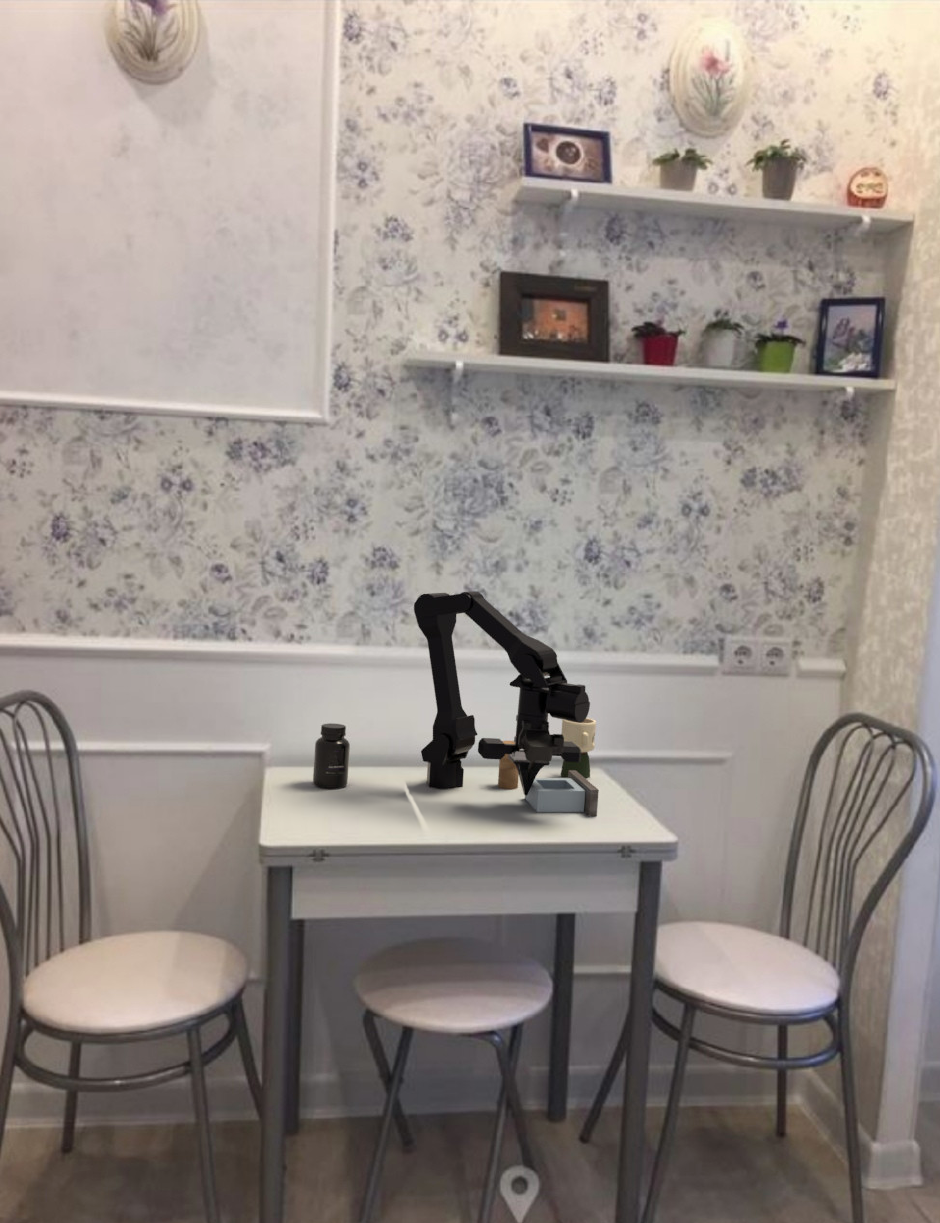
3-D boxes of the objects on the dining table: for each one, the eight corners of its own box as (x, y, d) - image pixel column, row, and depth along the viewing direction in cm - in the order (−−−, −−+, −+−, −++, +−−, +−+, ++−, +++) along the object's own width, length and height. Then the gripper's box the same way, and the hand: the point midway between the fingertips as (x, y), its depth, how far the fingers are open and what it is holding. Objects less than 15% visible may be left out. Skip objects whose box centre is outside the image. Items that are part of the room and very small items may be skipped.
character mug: (599, 786, 214) (604, 725, 213) (567, 787, 213) (571, 725, 211) (582, 773, 225) (586, 714, 224) (551, 773, 223) (555, 714, 222)
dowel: (500, 794, 204) (503, 745, 203) (495, 789, 208) (498, 740, 207) (519, 794, 205) (522, 745, 204) (514, 789, 209) (517, 740, 208)
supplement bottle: (333, 791, 200) (336, 730, 198) (305, 785, 203) (308, 725, 202) (354, 784, 206) (357, 725, 204) (327, 778, 209) (329, 720, 208)
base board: (501, 822, 186) (503, 789, 185) (484, 800, 199) (486, 769, 199) (596, 821, 189) (598, 789, 189) (573, 800, 203) (575, 770, 203)
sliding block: (537, 812, 190) (538, 790, 189) (524, 798, 198) (526, 778, 198) (583, 811, 191) (585, 790, 191) (569, 798, 200) (570, 778, 200)
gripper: (493, 719, 182) (486, 805, 184) (593, 724, 186) (585, 808, 187) (480, 707, 193) (473, 789, 195) (575, 712, 197) (568, 792, 198)
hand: (525, 794), depth 193 cm, fingers closed
